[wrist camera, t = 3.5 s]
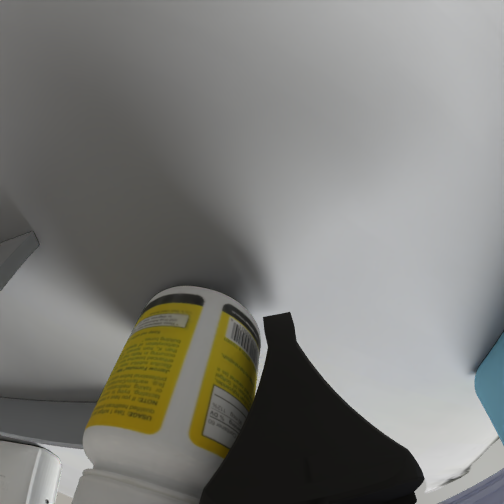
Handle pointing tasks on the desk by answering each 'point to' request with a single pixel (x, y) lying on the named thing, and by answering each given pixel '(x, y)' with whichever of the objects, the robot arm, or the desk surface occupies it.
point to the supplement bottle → (172, 401)
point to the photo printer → (28, 474)
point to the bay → (31, 411)
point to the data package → (493, 385)
